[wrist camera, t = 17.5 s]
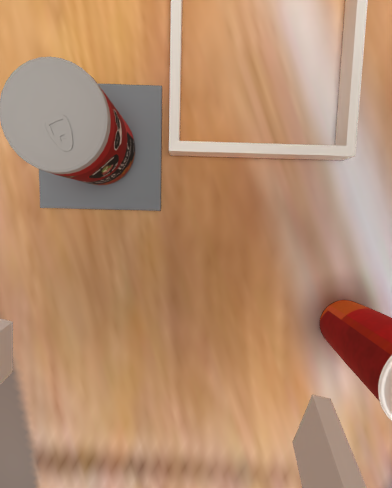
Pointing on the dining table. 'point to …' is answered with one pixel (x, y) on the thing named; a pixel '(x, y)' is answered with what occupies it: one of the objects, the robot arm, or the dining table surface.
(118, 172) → the canned food
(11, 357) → the robot arm
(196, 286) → the dining table surface
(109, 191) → the mat
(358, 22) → the corral
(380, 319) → the paper cup
